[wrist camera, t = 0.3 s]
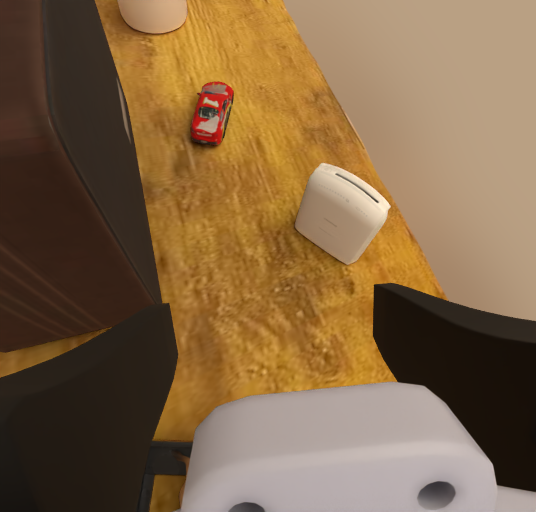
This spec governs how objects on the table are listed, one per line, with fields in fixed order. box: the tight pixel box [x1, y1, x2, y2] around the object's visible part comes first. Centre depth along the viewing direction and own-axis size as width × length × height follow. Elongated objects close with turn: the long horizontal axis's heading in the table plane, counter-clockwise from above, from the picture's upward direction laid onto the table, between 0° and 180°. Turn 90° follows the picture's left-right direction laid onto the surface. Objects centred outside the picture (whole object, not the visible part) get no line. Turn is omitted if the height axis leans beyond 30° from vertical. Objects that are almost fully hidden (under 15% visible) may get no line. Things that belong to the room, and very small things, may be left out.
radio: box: [0, 0, 162, 353], centre depth 33 cm, size 36×18×30 cm, turn 17°
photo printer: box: [295, 163, 391, 265], centre depth 43 cm, size 10×4×12 cm, turn 52°
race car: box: [191, 82, 234, 146], centre depth 55 cm, size 13×5×4 cm, turn 171°
